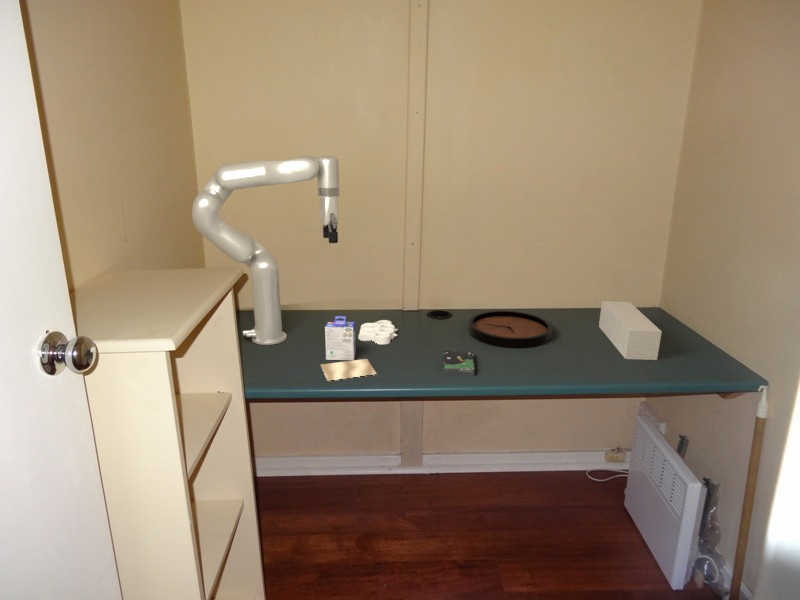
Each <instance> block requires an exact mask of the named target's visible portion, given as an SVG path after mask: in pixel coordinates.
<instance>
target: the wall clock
mask: <svg viewBox="0 0 800 600" xmlns="http://www.w3.org/2000/svg"><path fill="white" fill-rule="evenodd" d="M552 331H553V327H552V324H551V323H550V322H549V321H548V320H546V319H545V318H543V317H541V316H538V315H535V314H531V313H529V312H528V313H527V312H523V311H517V310H516V311H515V310H490V311H483V312H480V313H477V314H475V315H473V316H471V317H470V318H469V321H468V334H469V335H470V336H471V337H472V338H473V339H474V340H475V341H478V342H480V343H483V344H485V345H490V346H494V347H498V348H504V349H530V348H531V349H533V348H537V347H541V346H544V345H546V344H547V343H549V342H550V341H551V339H552V333H553V332H552Z"/></svg>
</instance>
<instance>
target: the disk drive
mask: <svg viewBox="0 0 800 600" xmlns="http://www.w3.org/2000/svg"><path fill="white" fill-rule="evenodd" d="M474 355H475V354H474V351H464V350H456V351H451V350H443V359H442V360H443V364H442V365H443V366H442V375H448V376H449V375H451V376H468V377H469V376H471V377H472V376H473V377H475V373H476V369H475V368H476V367H475V365H476V364H475V358H474Z"/></svg>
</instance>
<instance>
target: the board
mask: <svg viewBox="0 0 800 600" xmlns="http://www.w3.org/2000/svg"><path fill="white" fill-rule="evenodd" d="M319 365H320V367H321V370H322V372H324V373H323V375H324V377H325V380H326V379H327V380H326V381H328V382H332V381H331V380H335V381H340V380H339V379H343V380H348V379H347V378H350V379H354V378H353V377H358V378H361V377H360V376H365V377H367V376H366V375H373V376H376V375H375V374H377V372H376V370H375V369H374V367H373V366H372V364H371V362H370V361H369V359H368V358H363V359H361V358H360V359H354V360H344V361H338V362H330V363H329V362H328V363H322V364H319ZM377 375H378V374H377Z"/></svg>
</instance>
